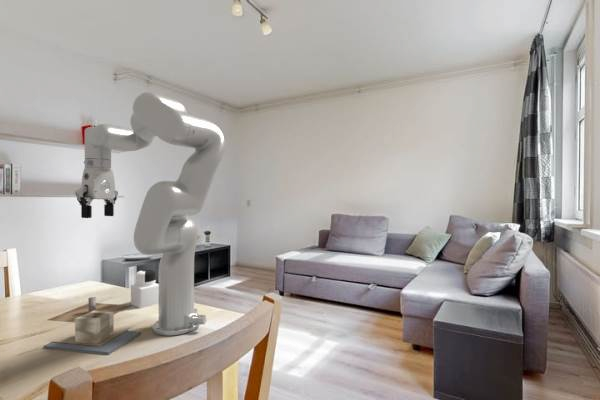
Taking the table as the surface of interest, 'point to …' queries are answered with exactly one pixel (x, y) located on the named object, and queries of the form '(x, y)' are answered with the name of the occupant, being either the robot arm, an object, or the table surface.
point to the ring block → (94, 326)
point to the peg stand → (89, 310)
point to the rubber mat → (102, 349)
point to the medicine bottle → (145, 289)
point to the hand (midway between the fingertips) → (98, 216)
